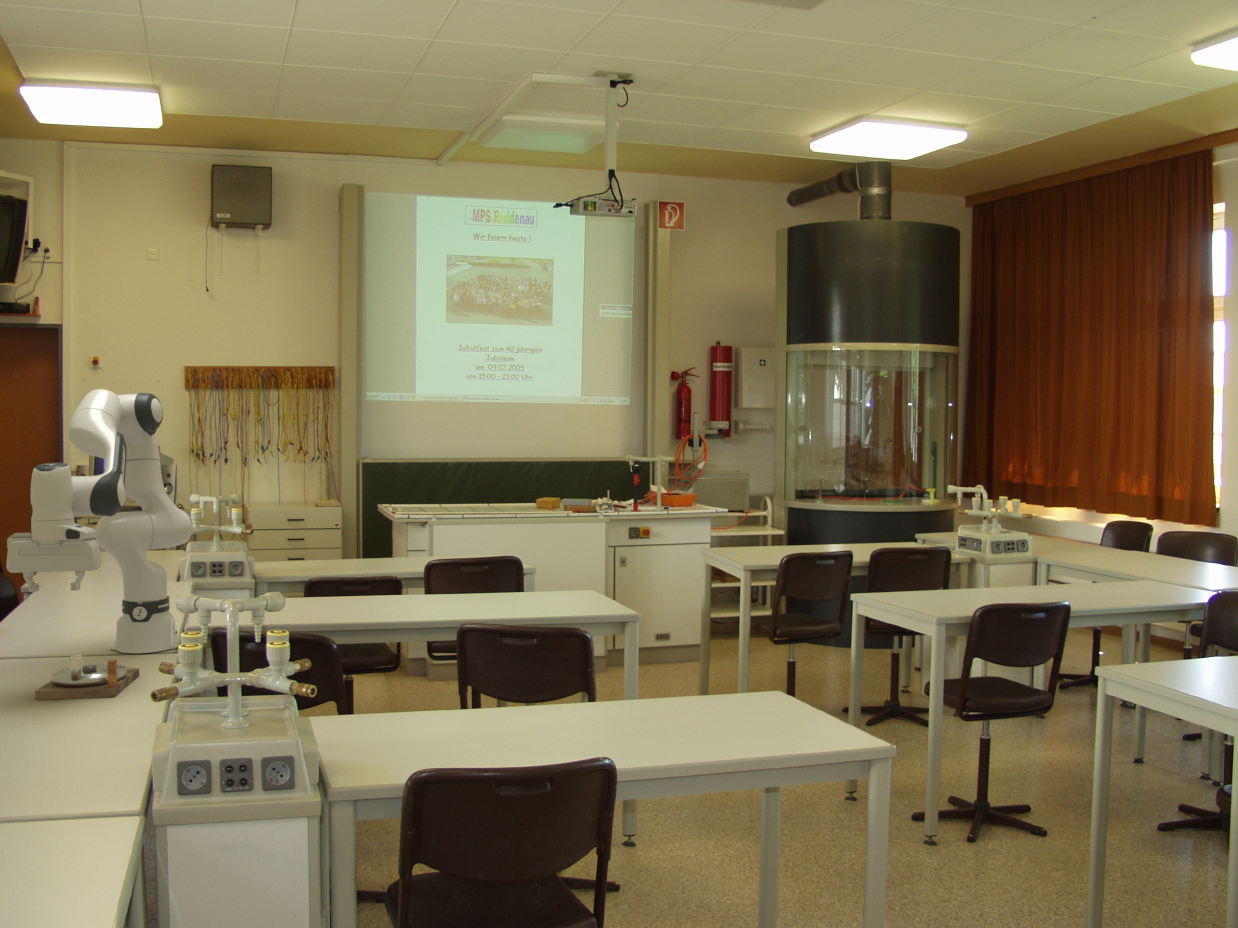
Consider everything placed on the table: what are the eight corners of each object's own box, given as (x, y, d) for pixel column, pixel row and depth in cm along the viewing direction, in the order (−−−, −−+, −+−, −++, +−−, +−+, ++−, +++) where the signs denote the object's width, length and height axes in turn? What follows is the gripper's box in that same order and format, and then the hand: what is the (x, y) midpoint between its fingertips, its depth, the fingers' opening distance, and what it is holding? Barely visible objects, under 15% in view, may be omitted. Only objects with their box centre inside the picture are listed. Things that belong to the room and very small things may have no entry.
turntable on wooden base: (66, 677, 251) (66, 645, 251) (139, 675, 254) (139, 644, 254) (35, 699, 232) (34, 665, 231) (114, 697, 235) (114, 663, 234)
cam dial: (70, 669, 250) (69, 641, 250) (136, 669, 252) (136, 640, 251) (38, 687, 234) (38, 656, 234) (110, 686, 235) (109, 655, 235)
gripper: (-1, 534, 233) (1, 593, 233) (91, 532, 234) (93, 591, 234) (14, 531, 239) (15, 590, 239) (103, 529, 240) (104, 587, 241)
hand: (54, 590), depth 237 cm, fingers open, 8 cm apart
